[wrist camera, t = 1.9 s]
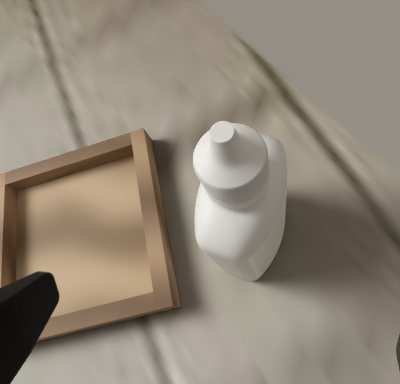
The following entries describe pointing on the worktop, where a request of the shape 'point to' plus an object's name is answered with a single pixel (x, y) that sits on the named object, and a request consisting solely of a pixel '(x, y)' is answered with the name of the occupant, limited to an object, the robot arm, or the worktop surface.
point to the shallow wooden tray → (91, 233)
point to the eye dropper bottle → (240, 198)
